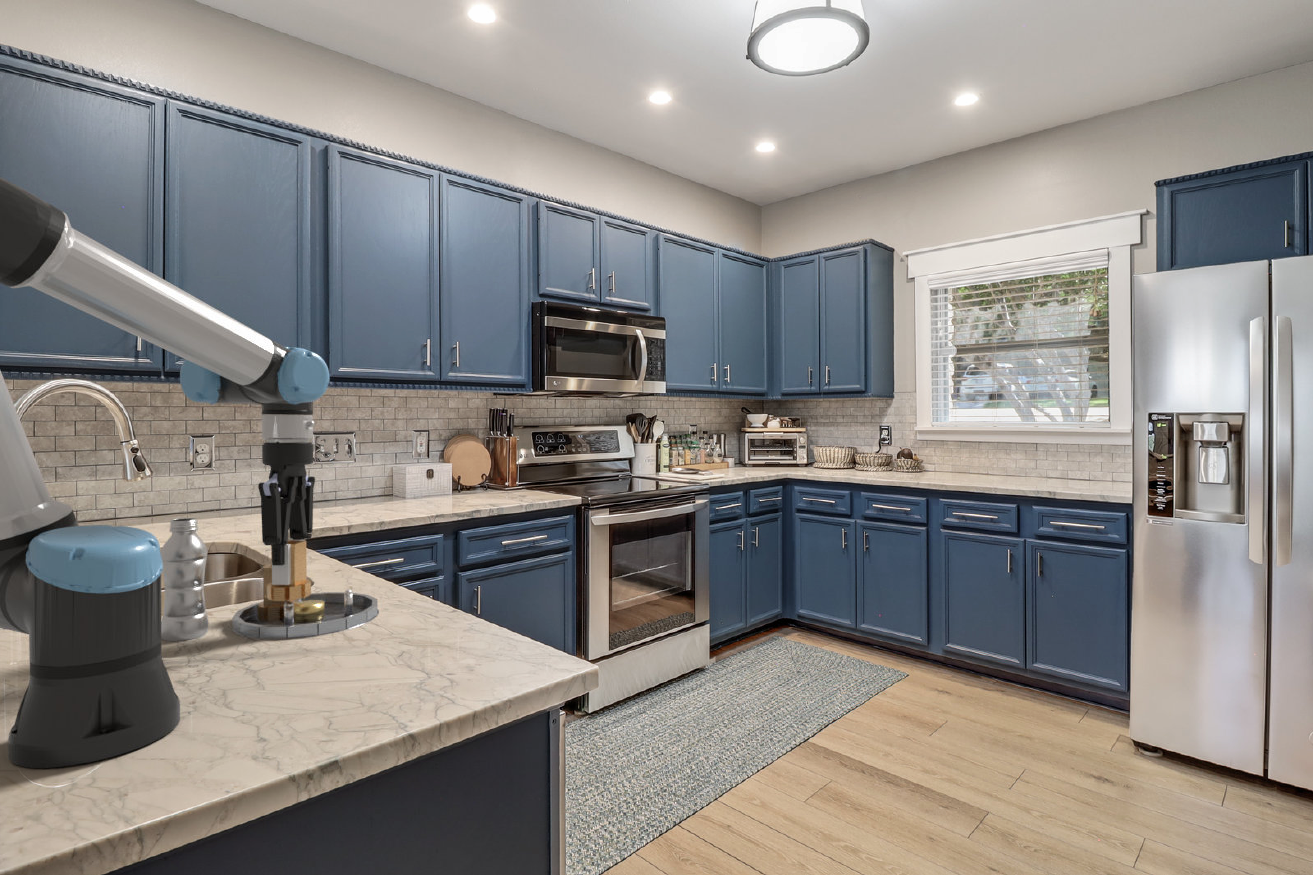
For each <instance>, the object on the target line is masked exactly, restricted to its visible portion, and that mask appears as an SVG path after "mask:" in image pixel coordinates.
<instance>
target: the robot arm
mask: <svg viewBox="0 0 1313 875" xmlns="http://www.w3.org/2000/svg"><path fill="white" fill-rule="evenodd" d="M70 222H71V221H70V219H69V217H68V214H67V213H65V212H64V211H62V210H61V209H59V208H57V207H55V206H54V205H52V204H50V203H48V202H46V201H45V200H43V198H40V197H38V196H36V195H35V194H33V193H31V192H29V191H27V190H25V189H24V188H22V187H20V186H18V185H16V184H15V183H13V182H10V181H9V180H7V179H6V178H3V177H1V176H0V284H2V285H4V286H6V287H9V288H11V289H19V288H23V287H24V288H25V287H31V288H33V289H36V290H38V291H39V292H41V293H43V294H45V295H49V296H51V297H52V298H54V299H57V300H59V301H62V302H63V303H65V304H68V305H70V306H71V307H74V308H76V309H78V310H80V311H81V312H82V311H83V312H85V313H86V314H88V315H91V316H93V317H94V318H97V319H99V320H102V321H103V322H105V323H108V324H110V325H112V326H114V327H117V328H118V329H120V330H123V331H125V332H127V333H130V334H131V335H133V336H135V337H138V338H140V339H142V340H144V341H146V342H148V343H151V344H152V345H154V346H157V347H159V348H162V349H164V350H166V351H167V352H170V353H172V354H173V355H176V356H178V357H181V358H182V359H184V361H183V362H182V364H181V367H180V371H179V383H180V387H181V390H182V393H183V394H184V395H185V397H186V398H187V399H189V400H190V401H192V402H194V403H200V404H201V403H205V404H210V405H216V404H222V405H225V404H227V405H228V404H229V405H260V406H261V439H263V440H265V442H263V444H262V445H261V448H262V450H261V452H262V453H261V455H262V456H261V457H262V458H261V460H262V464H263V465H264V466H270V470H269V475H268V480H267V481H266V482H259V483H258V485H257V486H258V487H257V488H258V492H259V494H260V507H261V508H260V510H261V540H262V543H263V544H264V546H272V585H289V584H291V544H287V542H288V540H289V541H306V540H307V539H309V540H310V539H312V535H313V534H312V533H313V529H314V526H313V524H314V488H315V483H316V477H315V476H308V475H307V470H306V469H307V468H306V466H308V465H312V464H313V462H314V443H313V442H310V440H311V439H313V438H314V426H315V423H316V422H315V421H314V402H315V401H317V400H319V399H320V398H321V397H323V396H324V395H325V393H326V392H327V390H328V387H329V384H330V370H329V368H328V365H327V363H326V362H325V360H324V358H322V356H320V355H319V354H318V353H316V352H314V351H311V350H307V349H306V348H302V347H295V346H293V347H291V346H283V345H281V344H280V343H278V342H276V341H274V340H273V339H270V338H269V337H266V336H265V335H263V334H261V333H260V332H258V331H256V330H254V329H253V328H251V327H249V326H247V325H245V324H243V323H242V322H240V321H238V320H236V319H235V318H233V317H231V316H230V315H228V314H226V313H224V312H222V311H220V310H218V309H216V308H215V307H213V306H211V305H209V304H208V303H206V302H204V300H203V301H202V300H201V299H199V298H197V297H195V296H194V295H192V294H190V293H188V292H187V291H185V290H183V289H181V288H179V287H178V286H176V285H174V284H172V283H171V282H168V281H167V280H165V279H164V278H162V277H160V276H158V275H156V274H155V273H153V272H151V271H149V269H148V270H147V269H146V268H144V267H142V266H141V265H139V264H137V263H135V262H134V261H132V260H130V259H128V258H126V257H124V256H123V255H121V254H119V253H117V252H116V251H114V250H112V249H110V248H108V247H107V246H105V245H103V244H101V243H100V242H98V241H97V240H94V239H93V238H91V237H89V236H87V235H85V234H84V233H82V232H80V231H78V230H77V229H75V228H73V227H72V225H71V223H70ZM4 378H5V377H4V376H3V374H2V371H1V370H0V629H2V630H9V631H13V632H17V633H21V634H25V635H28V637H29V638H28V641H29V642H28V643H29V644H28V647H29V648H28V649H29V651H28V652H29V655H28V656H29V658H28V659H29V681H28V685H27V688H26V690H25V692H24V695H23V698H22V700H21V702H20V704H19V705H20V706H19V707H18V708H19V709H18V711H17V714H16V718H15V721H14V724H13V726H12V727H11V729H10V731H9V733H8V739H7V744H8V745H7V748H8V749H7V750H8V755H7V756H8V760H9V761H10V762H11V763H12V764H14V765H17V766H20V767H25V768H34V769H39V768H40V769H45V768H46V769H49V768H61V767H70V766H77V765H83V764H88V763H91V762H92V763H93V762H97V761H101V760H105V759H109V758H113V757H116V756H119V755H123V754H125V753H129V752H132V751H134V750H138V749H140V748H142V747H144V746H147V745H149V744H152V743H153V742H155V741H158V740H159V739H161V738H163V737H165V736H166V735H168V734H169V733H171V732H173V730H174V729H175V728H176V727H177V726H178V725H179V723H180V721H181V702H180V698H179V696H178V695H177V693H176V692H175V689H174V686H173V683H172V680H171V678H170V675H169V673H168V671H167V668H166V666H165V663H164V661H163V656H162V653H163V652H162V640H163V639H162V635H161V622H162V574H163V562H162V558H161V553H160V552H161V546H160V542H159V540H158V539H157V537H156V536H155V535H154V534H153V533H151V532H149V531H147V530H144V529H140V528H137V527H132V526H127V525H125V526H123V525H118V526H115V525H114V526H112V525H108V524H94V525H93V524H92V525H91V524H90V525H89V524H88V525H79V523H78V520H77V518H76V515H75V512H74V510H73V508H72V506H71V505H70V504H68V503H65V502H62V501H60V500H59V501H58V500H57V499H54V498H53V497H51V495H50V494H49V491H48V488H47V485H46V483H45V480H44V477H43V476H42V473H41V470H40V466H39V465H38V462H37V460H36V457H35V455H34V452H33V450H32V448H31V445H30V443H29V442H30V441H29V440H28V437H27V434H26V432H25V429H24V427H23V424H22V422H21V420H20V417H19V415H18V412H17V409H16V406H15V404H14V401H13V398H12V396H11V393H10V391H9V389H8V387H7V384H6V382H5V379H4ZM289 538H290V539H289Z"/></svg>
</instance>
